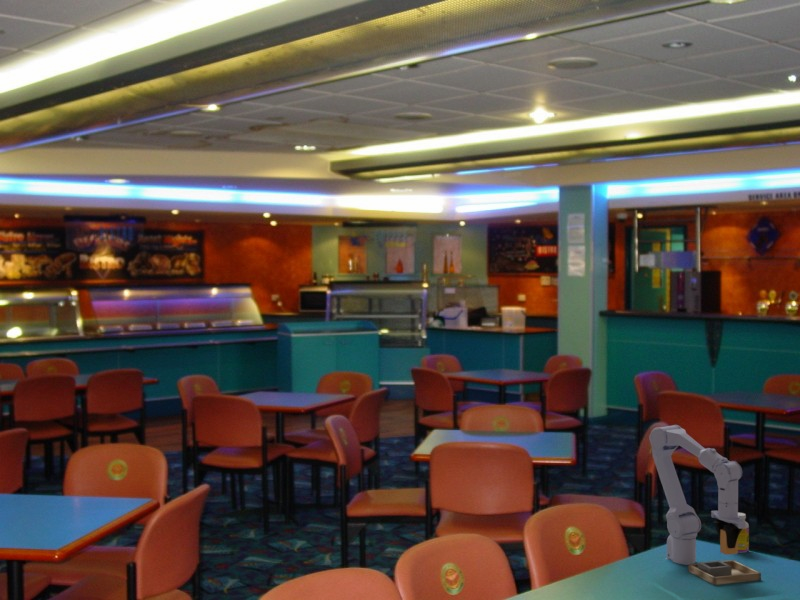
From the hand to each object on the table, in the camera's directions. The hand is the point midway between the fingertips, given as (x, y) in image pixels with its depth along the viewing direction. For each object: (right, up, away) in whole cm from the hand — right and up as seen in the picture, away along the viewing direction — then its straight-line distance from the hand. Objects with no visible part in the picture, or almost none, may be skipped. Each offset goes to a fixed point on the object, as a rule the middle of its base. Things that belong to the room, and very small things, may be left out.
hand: (727, 546), depth 305 cm
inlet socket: (-4, -9, -1) cm, 10 cm away
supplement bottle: (+12, -9, +27) cm, 31 cm away
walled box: (-1, -10, 0) cm, 10 cm away
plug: (0, -2, 0) cm, 2 cm away
